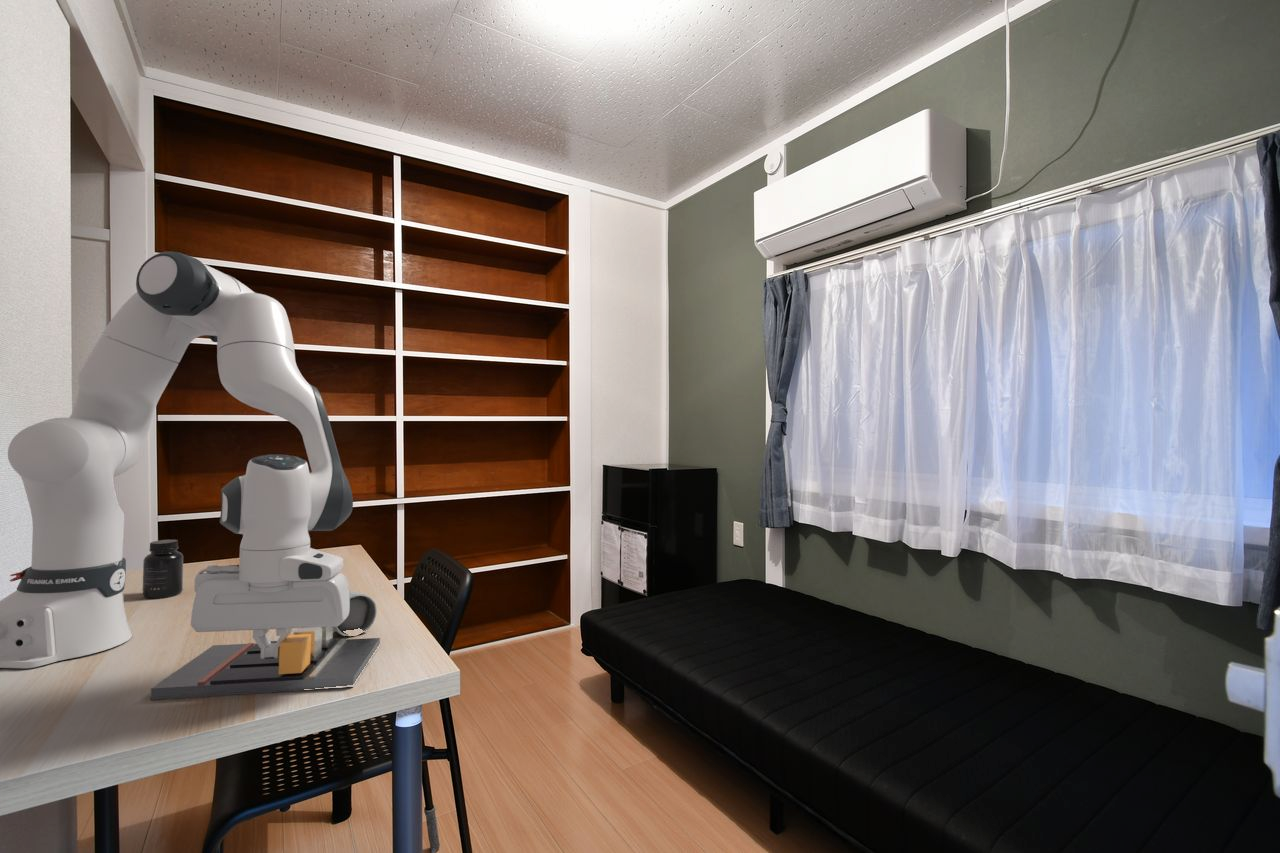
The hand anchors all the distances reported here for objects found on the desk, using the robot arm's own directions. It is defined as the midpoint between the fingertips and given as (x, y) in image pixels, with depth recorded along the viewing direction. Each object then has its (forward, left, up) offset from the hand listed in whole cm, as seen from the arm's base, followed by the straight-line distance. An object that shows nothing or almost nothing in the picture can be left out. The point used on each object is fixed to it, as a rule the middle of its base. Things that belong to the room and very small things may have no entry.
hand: (271, 657), depth 83 cm
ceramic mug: (+3, +22, -4) cm, 22 cm away
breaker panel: (-1, +6, -4) cm, 7 cm away
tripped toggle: (+3, 0, -2) cm, 4 cm away
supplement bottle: (-42, +52, -4) cm, 67 cm away
